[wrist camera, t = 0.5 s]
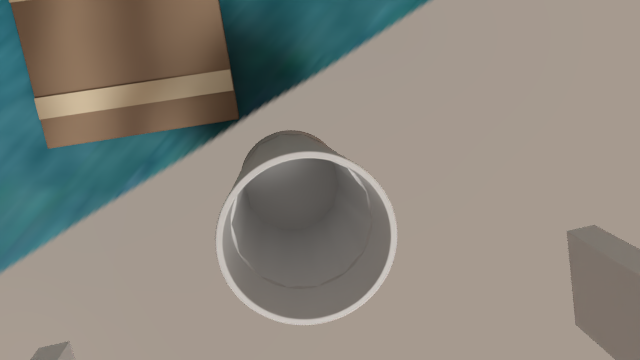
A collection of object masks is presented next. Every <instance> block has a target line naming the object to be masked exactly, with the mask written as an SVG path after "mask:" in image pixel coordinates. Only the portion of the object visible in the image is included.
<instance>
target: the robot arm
mask: <svg viewBox="0 0 640 360" xmlns="http://www.w3.org/2000/svg"><path fill="white" fill-rule="evenodd" d="M567 238H568V249H569V259H570V270H571V280H572V291H573V302H574V313H575V323H576V325H577V326H578V327H579V328H580V329H581V330H582V331H584V332H585V333H586V334H587V335H588V336H589V337H590V338H591V339H593V340H594V341H595V342H596V343H597V344H599V345H600V346H601V347H602V348H603V349H604V350H605V351H606V352H607V353H608V354H610V355H611V356H612V357H613V358H614V359H615V360H640V249H638V248H636V247H634V246H633V245H631V244H629V243H627V242H625V241H623V240H621V239H619V238H617V237H616V236H614V235H612V234H610V233H608V232H606V231H605V230H603V229H601V228H599V227H597V226H595V225H592V226H588V227H583V228H579V229H575V230H570V231H567ZM31 360H75V357H74V354H73V351H72V348H71V344H70V342H64V343H60V344H55V345H51V346H46V347H42V348H39V349H38V350H37V351H36V353H35V354H34V356H33V357H32V358H31Z"/></svg>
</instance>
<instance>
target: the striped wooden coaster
mask: <svg viewBox="0 0 640 360" xmlns="http://www.w3.org/2000/svg"><path fill="white" fill-rule="evenodd" d="M9 2H10V3H11V7H12V10H13V14H14V18H15V22H16V26H17V30H18V34H19V38H20V42H21V46H22V49H23V53H24V57H25V61H26V65H27V69H28V73H29V77H30V81H31V84H32V88H33V92H34V96H35V98H34V100H35V104H36V108H37V112H38V116H39V120H41V123H42V127H43V131H44V135H45V139H46V143H47V147H48V148H55V147H61V146H68V145H74V144H81V143H87V142H94V141H100V140H107V139H113V138H119V137H126V136H132V135H139V134H145V133H152V132H158V131H165V130H171V129H177V128H184V127H190V126H197V125H203V124H210V123H216V122H223V121H229V120H236V119H239V112H238V106H237V100H236V94H235V89H234V83H233V77H232V72H231V66H230V60H229V54H228V49H227V43H226V37H225V32H224V26H223V20H222V14H221V9H220V3H219V0H9Z"/></svg>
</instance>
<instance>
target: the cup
mask: <svg viewBox="0 0 640 360" xmlns="http://www.w3.org/2000/svg"><path fill="white" fill-rule="evenodd" d="M215 246H216V255H217V259H218V263H219V267H220V269H221V272H222V274H223V276H224V278H225V280H226V282H227V284H228V285H229V287H230V288H231V290H232V291H233V292H234V294H235V295H236V296H237V297H238V298H239V299H240V300H241V301H242V302H243V303H244V304H246V305H247V306H248V307H249V308H251V309H252V310H254V311H255V312H257V313H259V314H260V315H263V316H265V317H267V318H269V319H272V320H275V321H278V322H282V323H287V324H294V325H313V324H320V323H325V322H329V321H332V320H335V319H338V318H340V317H343V316H345V315H347V314H349V313H351V312H352V311H354V310H356V309H357V308H358V307H360V306H361V305H363V304H364V303H365V302H366V301H367V300H369V299H370V298H371V297H372V296H373V294H374V293H375V292H376V291H377V290H378V289H379V287H380V286H381V284H382V283H383V282H384V280H385V278H386V276H387V275H388V273H389V270H390V268H391V266H392V263H393V260H394V257H395V252H396V246H397V224H396V218H395V214H394V210H393V207H392V205H391V202H390V200H389V198H388V196H387V194H386V193H385V191H384V189H383V188H382V187H381V186H380V184H379V183H378V182H377V180H376V179H375V178H374V177H373V176H372V175H371V174H370V173H369V172H367V171H366V170H365V169H363V168H362V167H360V166H359V165H358V164H356V163H354V162H353V161H351V160H349V159H347V158H345V157H343V156H342V155H340V154H338V153H337V152H335V151H334V150H332V149H331V148H329V147H328V146H327V145H326V144H324V143H323V142H322V141H321V140H320V139H318V138H317V137H315V136H313V135H311V134H308V133H305V132H301V131H281V132H277V133H274V134H271V135H269V136H267V137H265V138H264V139H262V140H261V141H259V142H258V143H257V144H256V145H255V146H254V147H253V148H252V150H250V152H249V153H248V155H247V157H246V158H245V161H244V163H243V166H242V170H241V172H240V174H239V177H238V178H237V180H236V182H235V184H234V186H233V188H232V190H231V192H230V193H229V195H228V197H227V199H226V200H225V202H224V205H223V207H222V209H221V212H220V214H219V218H218V222H217V227H216V237H215Z"/></svg>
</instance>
